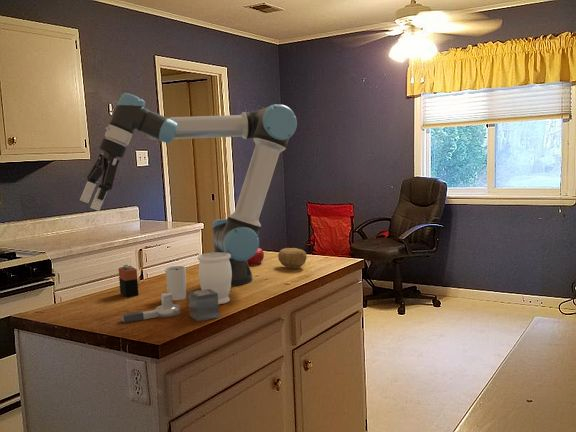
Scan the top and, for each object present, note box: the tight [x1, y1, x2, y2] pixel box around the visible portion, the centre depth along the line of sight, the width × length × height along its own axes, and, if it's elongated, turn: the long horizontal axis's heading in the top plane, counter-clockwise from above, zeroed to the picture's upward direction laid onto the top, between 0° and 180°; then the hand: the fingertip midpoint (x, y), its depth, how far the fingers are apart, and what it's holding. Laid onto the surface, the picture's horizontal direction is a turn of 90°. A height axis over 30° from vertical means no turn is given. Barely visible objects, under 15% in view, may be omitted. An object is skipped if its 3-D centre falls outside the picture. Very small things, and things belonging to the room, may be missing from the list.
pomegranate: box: [247, 247, 265, 266], centre depth 230 cm, size 10×10×9 cm
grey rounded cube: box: [188, 289, 220, 322], centre depth 157 cm, size 6×6×7 cm
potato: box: [277, 247, 307, 269], centre depth 219 cm, size 10×14×8 cm
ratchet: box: [121, 292, 181, 324], centre depth 159 cm, size 16×7×6 cm, turn 119°
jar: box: [197, 252, 232, 306], centre depth 172 cm, size 11×10×15 cm
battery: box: [118, 264, 139, 298], centre depth 186 cm, size 4×7×10 cm, turn 35°
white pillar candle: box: [164, 265, 187, 301], centre depth 179 cm, size 7×7×10 cm
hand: (89, 205), depth 169 cm, fingers open, 13 cm apart
